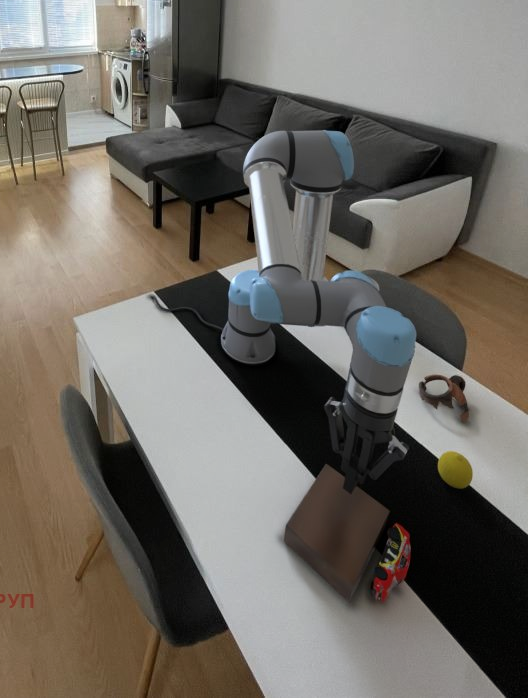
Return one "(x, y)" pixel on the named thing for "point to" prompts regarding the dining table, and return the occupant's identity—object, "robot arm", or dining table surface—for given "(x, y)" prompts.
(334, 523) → the walnut step
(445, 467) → the lemon
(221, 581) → the dining table surface
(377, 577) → the race car
